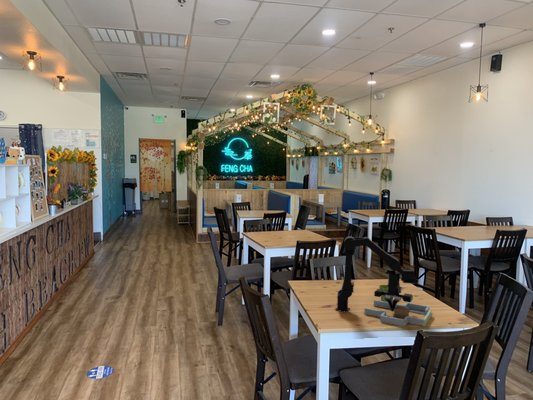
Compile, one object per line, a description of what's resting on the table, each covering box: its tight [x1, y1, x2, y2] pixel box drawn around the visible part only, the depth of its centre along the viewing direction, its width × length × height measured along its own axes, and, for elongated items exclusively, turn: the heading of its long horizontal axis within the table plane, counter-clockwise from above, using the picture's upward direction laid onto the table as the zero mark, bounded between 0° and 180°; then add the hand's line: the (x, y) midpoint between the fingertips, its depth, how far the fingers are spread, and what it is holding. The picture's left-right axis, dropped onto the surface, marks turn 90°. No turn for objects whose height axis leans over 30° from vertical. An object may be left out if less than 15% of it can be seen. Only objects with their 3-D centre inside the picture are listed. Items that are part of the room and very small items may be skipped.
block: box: [393, 306, 410, 320], centre depth 205 cm, size 6×6×4 cm
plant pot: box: [378, 284, 388, 302], centre depth 228 cm, size 9×9×9 cm
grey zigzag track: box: [363, 299, 432, 327], centre depth 206 cm, size 29×30×3 cm
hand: (392, 311), depth 208 cm, fingers closed
